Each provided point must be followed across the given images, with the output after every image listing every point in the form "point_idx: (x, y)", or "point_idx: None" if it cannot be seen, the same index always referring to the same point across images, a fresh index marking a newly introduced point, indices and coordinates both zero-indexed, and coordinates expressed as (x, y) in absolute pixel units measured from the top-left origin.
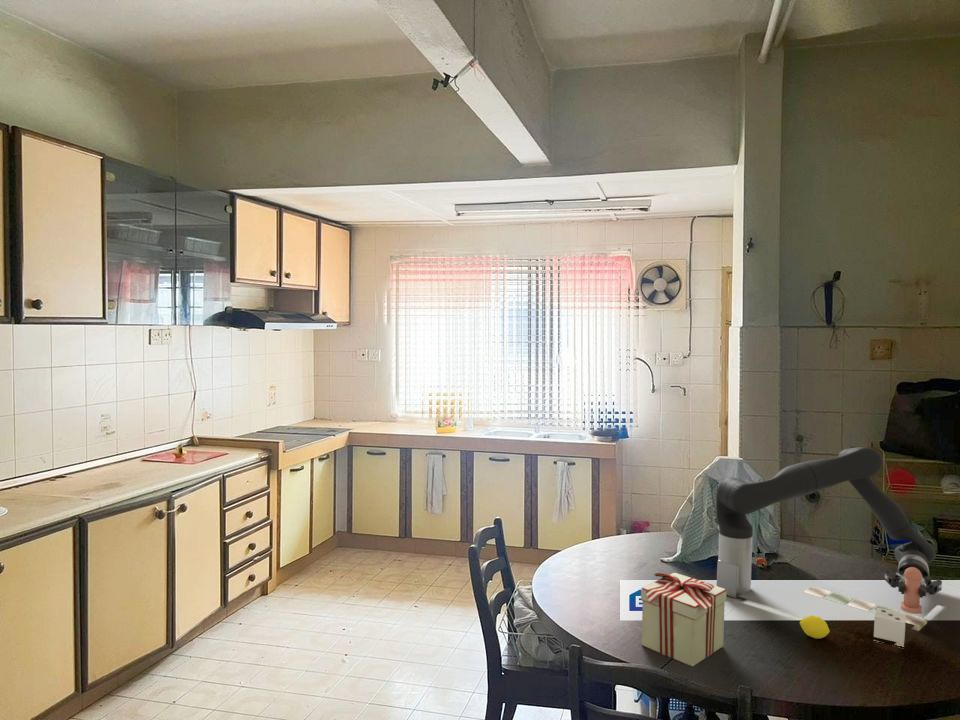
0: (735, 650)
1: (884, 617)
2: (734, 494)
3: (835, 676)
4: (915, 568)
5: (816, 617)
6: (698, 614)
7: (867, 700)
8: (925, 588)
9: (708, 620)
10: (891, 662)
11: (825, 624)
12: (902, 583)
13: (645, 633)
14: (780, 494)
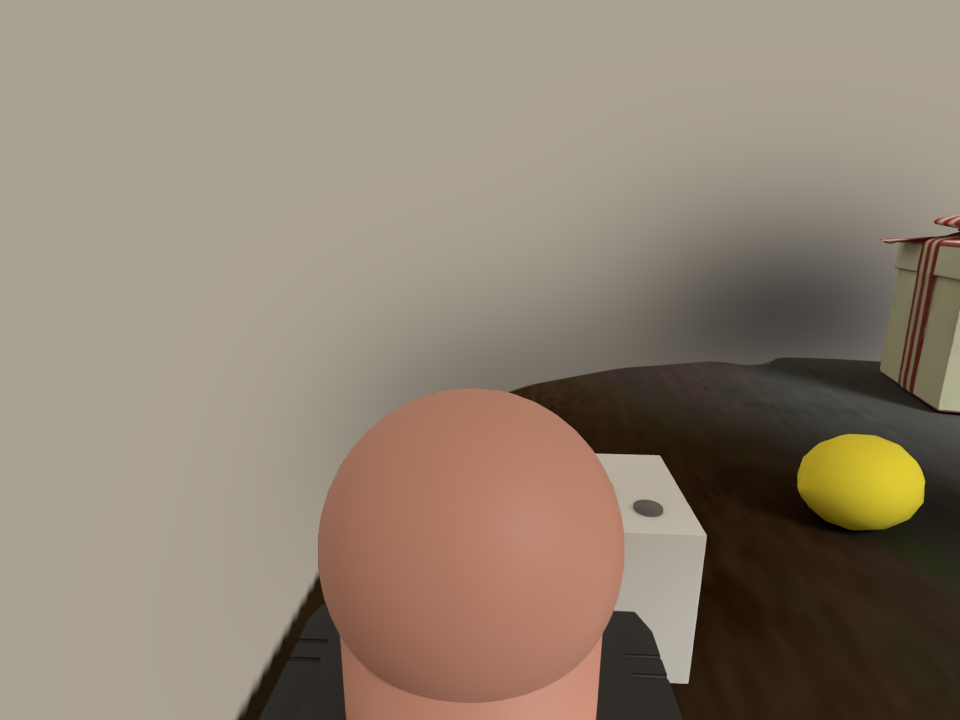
0: (903, 413)
1: (617, 462)
2: None
3: (651, 407)
4: (434, 397)
5: (859, 436)
6: (901, 261)
7: (568, 381)
8: (281, 694)
9: (914, 294)
10: None
11: (813, 452)
12: (619, 670)
13: None
14: None
